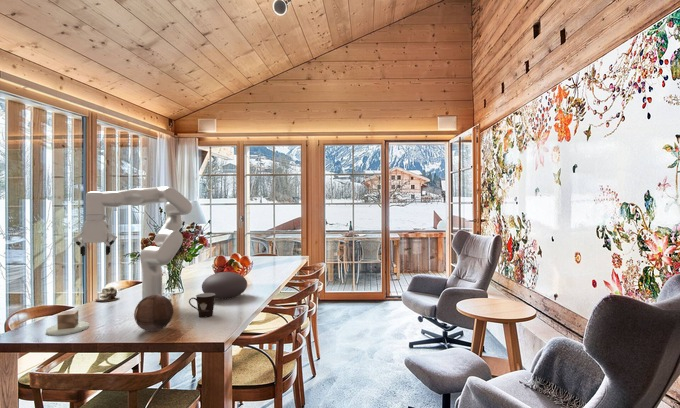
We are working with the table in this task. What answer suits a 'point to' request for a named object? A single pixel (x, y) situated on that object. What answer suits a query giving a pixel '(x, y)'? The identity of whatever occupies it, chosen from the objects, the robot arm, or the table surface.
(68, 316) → the walnut cube
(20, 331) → the table surface
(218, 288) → the flattened ellipsoid
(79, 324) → the sage plate
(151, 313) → the wooden sphere
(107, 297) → the skull
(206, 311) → the coffee mug
